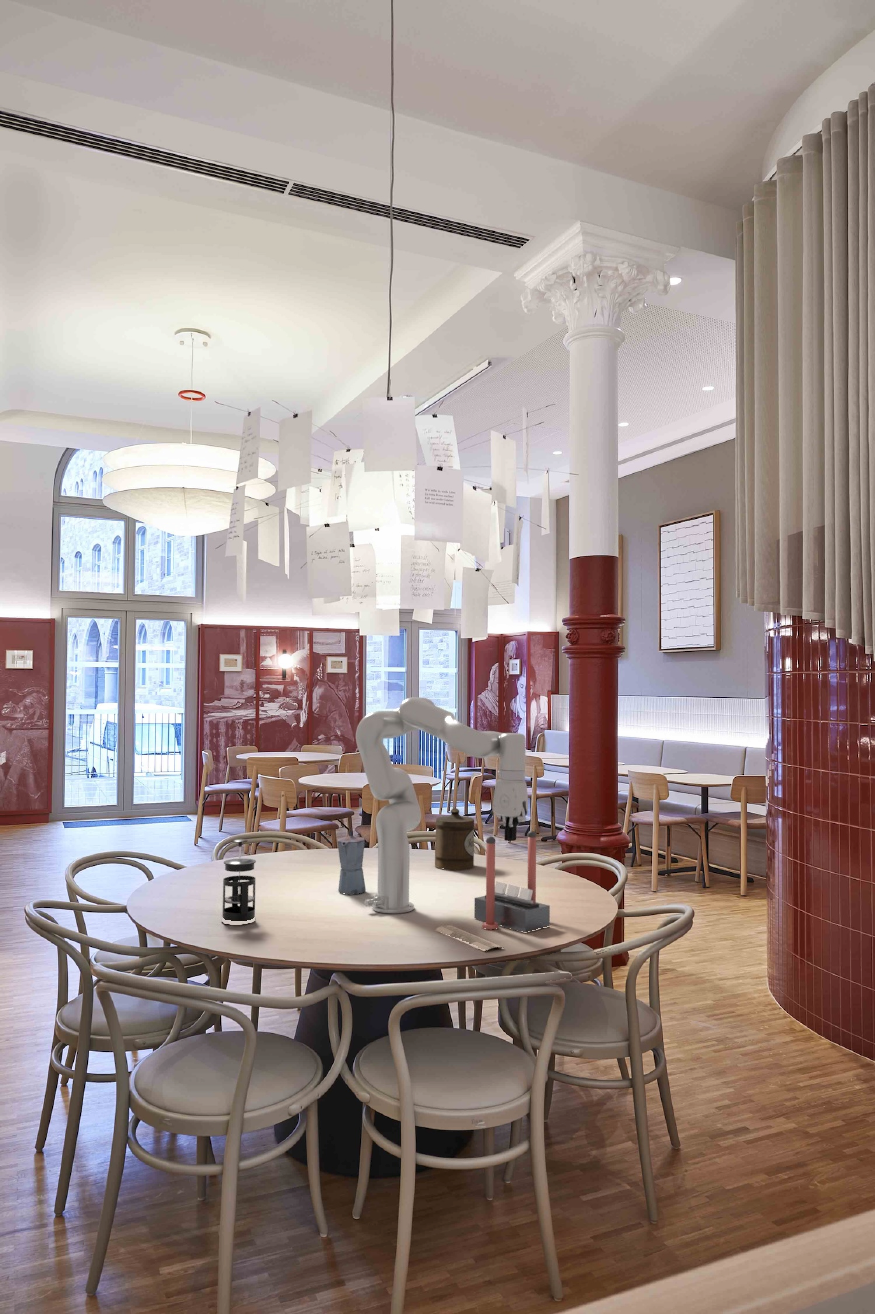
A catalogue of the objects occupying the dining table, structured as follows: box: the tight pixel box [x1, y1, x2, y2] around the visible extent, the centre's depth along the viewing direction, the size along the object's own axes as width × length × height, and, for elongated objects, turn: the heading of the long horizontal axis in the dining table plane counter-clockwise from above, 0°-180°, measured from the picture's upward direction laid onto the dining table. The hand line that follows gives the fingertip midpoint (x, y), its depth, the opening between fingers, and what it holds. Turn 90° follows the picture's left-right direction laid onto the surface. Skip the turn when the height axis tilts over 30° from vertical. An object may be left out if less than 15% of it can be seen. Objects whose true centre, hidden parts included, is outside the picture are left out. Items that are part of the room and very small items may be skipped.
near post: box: [481, 835, 499, 931], centre depth 239 cm, size 4×4×25 cm
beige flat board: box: [435, 925, 505, 951], centre depth 226 cm, size 24×7×2 cm, turn 32°
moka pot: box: [337, 830, 367, 895], centre depth 282 cm, size 10×15×20 cm, turn 166°
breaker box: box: [473, 894, 551, 932], centre depth 244 cm, size 10×20×7 cm, turn 41°
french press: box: [221, 838, 257, 921], centre depth 243 cm, size 12×9×23 cm
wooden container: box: [434, 807, 475, 871], centre depth 326 cm, size 15×15×22 cm
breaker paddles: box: [495, 881, 534, 904], centre depth 244 cm, size 1×16×4 cm, turn 41°
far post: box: [527, 830, 537, 902], centre depth 250 cm, size 4×4×25 cm
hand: (510, 840), depth 245 cm, fingers closed
